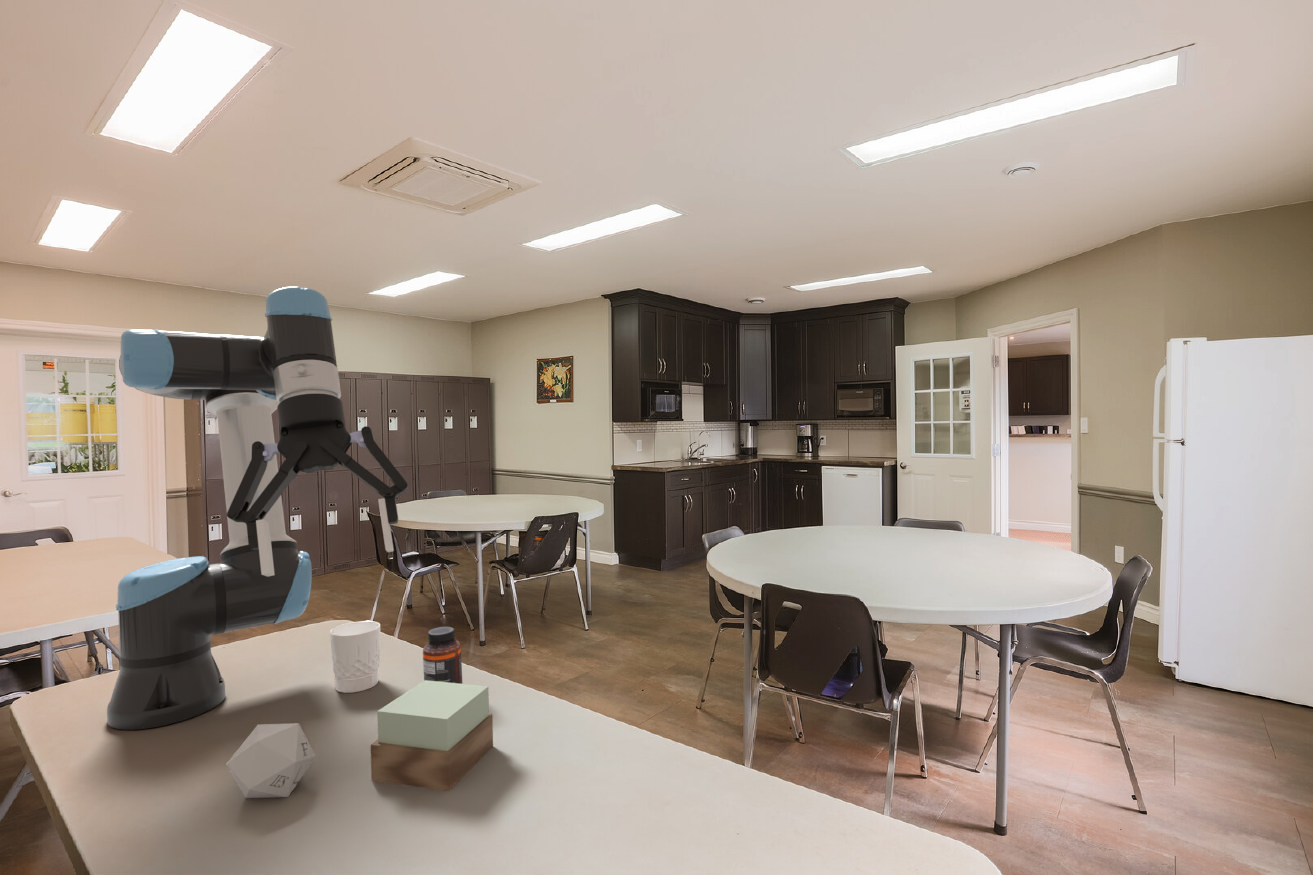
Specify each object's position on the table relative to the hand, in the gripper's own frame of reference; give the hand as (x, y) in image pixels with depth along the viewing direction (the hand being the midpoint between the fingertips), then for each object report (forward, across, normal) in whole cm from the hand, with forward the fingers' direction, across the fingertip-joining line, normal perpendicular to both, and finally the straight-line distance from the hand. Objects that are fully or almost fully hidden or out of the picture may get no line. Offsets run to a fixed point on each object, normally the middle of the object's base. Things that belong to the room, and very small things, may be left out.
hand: (330, 562), depth 79 cm
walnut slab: (+28, +8, +11) cm, 31 cm away
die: (+25, -11, +10) cm, 29 cm away
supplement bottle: (+21, +10, +30) cm, 38 cm away
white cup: (+16, -4, +41) cm, 44 cm away
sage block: (+23, +8, +9) cm, 26 cm away
